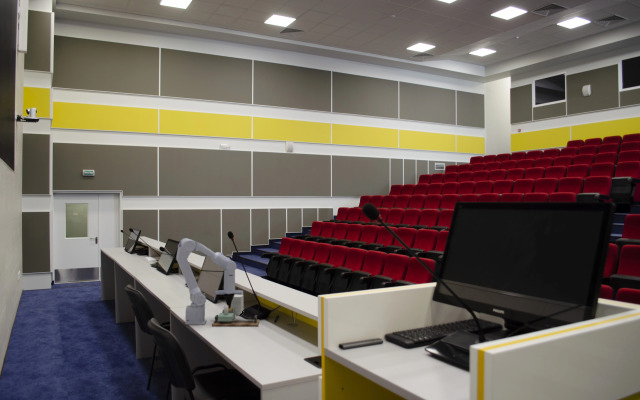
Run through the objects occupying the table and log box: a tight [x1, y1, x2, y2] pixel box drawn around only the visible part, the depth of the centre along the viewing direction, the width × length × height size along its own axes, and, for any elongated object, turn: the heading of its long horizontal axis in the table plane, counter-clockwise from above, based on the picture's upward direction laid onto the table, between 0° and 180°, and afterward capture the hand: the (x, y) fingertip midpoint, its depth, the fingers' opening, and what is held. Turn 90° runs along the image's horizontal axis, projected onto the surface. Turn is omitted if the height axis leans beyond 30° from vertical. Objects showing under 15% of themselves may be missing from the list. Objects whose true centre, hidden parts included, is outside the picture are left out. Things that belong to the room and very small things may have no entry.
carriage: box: [218, 304, 234, 321], centre depth 234 cm, size 7×7×7 cm
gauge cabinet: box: [221, 309, 236, 319], centre depth 243 cm, size 6×6×5 cm
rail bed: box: [211, 314, 260, 328], centre depth 234 cm, size 23×10×4 cm, turn 93°
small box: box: [231, 294, 245, 317], centre depth 254 cm, size 8×6×10 cm
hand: (229, 308), depth 243 cm, fingers closed, pressing on gauge button
